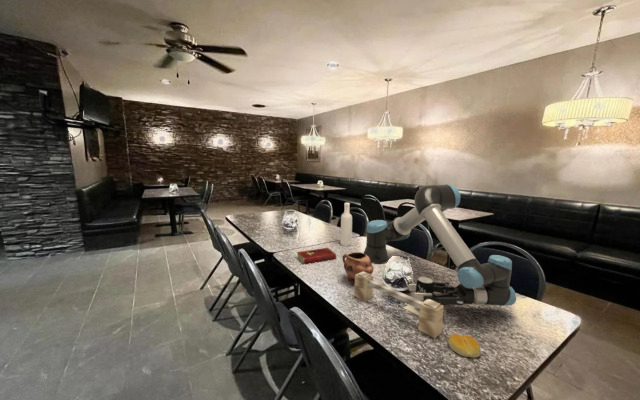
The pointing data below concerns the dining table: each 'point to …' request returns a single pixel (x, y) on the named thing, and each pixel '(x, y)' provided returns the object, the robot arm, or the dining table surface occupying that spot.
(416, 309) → the pad
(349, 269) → the brown sculpted mug
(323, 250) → the hardcover book
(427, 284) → the beverage can
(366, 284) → the handrail
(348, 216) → the bottle
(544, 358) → the dining table surface
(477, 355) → the bread roll
